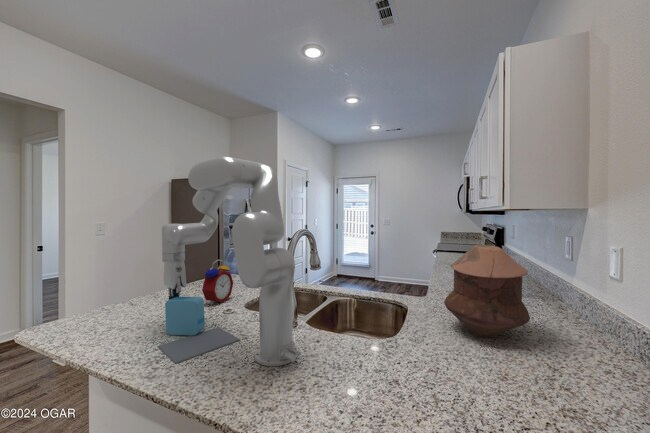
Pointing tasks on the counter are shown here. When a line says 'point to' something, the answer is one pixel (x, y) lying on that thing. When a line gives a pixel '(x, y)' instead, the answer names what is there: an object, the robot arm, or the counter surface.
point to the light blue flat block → (184, 315)
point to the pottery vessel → (487, 291)
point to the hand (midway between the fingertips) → (174, 305)
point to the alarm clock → (217, 284)
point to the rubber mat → (197, 344)
